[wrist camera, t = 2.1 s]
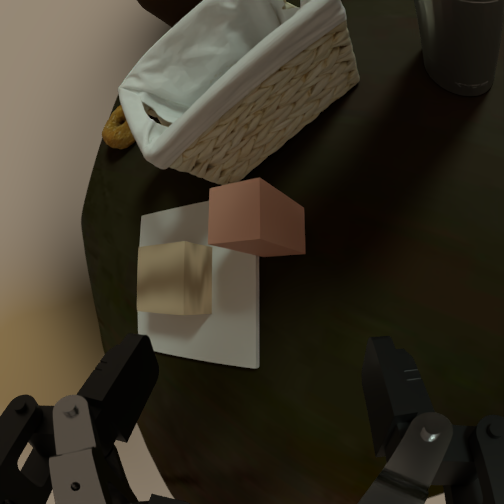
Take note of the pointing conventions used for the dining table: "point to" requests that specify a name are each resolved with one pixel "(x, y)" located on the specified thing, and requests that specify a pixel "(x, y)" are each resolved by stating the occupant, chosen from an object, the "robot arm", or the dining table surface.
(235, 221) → the tall salmon block
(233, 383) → the dining table surface
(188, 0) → the olive oil
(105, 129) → the bagel
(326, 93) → the storage basket
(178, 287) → the oak brick
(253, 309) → the build board
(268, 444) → the dining table surface
